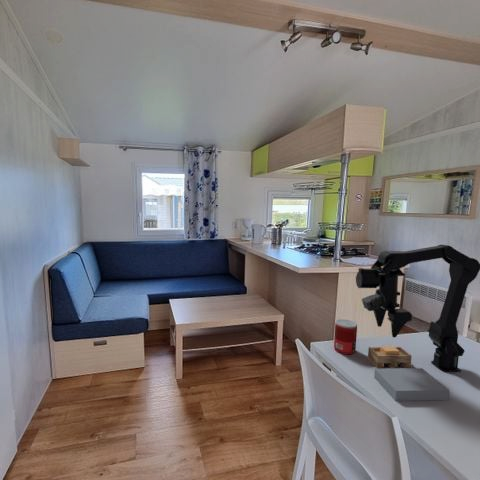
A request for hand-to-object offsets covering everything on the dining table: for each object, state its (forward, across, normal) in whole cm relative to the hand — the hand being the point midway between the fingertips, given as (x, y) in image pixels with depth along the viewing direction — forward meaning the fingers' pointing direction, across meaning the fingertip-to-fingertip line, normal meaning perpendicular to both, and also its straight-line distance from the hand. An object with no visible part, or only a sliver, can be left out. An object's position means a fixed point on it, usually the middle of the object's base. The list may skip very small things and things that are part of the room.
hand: (386, 331), depth 105 cm
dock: (+12, +14, 0) cm, 19 cm away
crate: (+9, -1, +2) cm, 9 cm away
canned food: (+12, -11, -10) cm, 19 cm away
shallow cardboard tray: (+12, -1, +2) cm, 12 cm away
